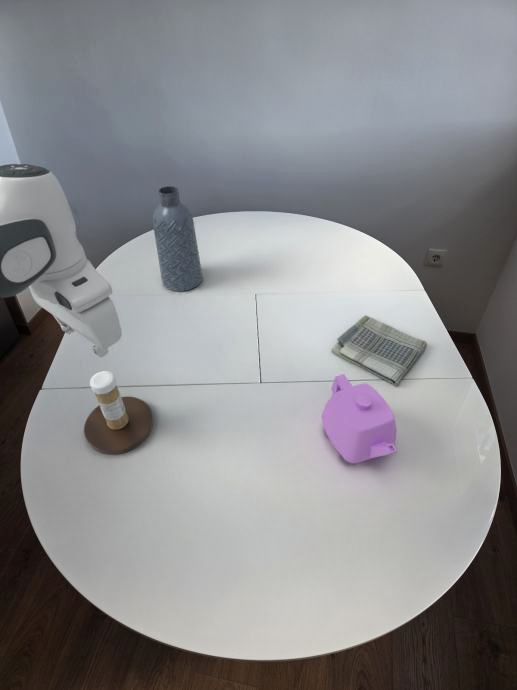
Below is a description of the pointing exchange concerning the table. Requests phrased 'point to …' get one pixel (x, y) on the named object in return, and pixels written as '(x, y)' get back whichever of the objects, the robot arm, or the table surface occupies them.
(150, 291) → the table surface
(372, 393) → the teapot
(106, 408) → the sprinkles bottle
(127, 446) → the disc
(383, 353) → the dish towel
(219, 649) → the table surface
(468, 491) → the table surface
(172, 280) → the vase
